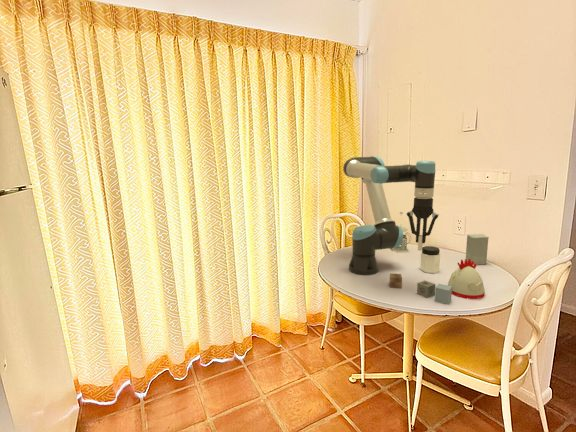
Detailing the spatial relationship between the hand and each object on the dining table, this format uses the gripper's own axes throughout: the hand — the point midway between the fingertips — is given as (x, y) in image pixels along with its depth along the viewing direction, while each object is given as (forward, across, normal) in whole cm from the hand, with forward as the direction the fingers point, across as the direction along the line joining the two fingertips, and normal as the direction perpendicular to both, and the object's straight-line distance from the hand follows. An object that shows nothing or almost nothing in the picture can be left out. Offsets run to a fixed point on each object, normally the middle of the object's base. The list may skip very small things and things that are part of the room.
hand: (419, 249), depth 134 cm
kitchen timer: (+18, +19, +3) cm, 26 cm away
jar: (+18, +2, +23) cm, 30 cm away
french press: (+20, -17, +53) cm, 59 cm away
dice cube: (+18, +4, -7) cm, 20 cm away
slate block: (+17, +11, -10) cm, 23 cm away
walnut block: (+18, -9, -4) cm, 20 cm away
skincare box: (+18, +23, +46) cm, 55 cm away
